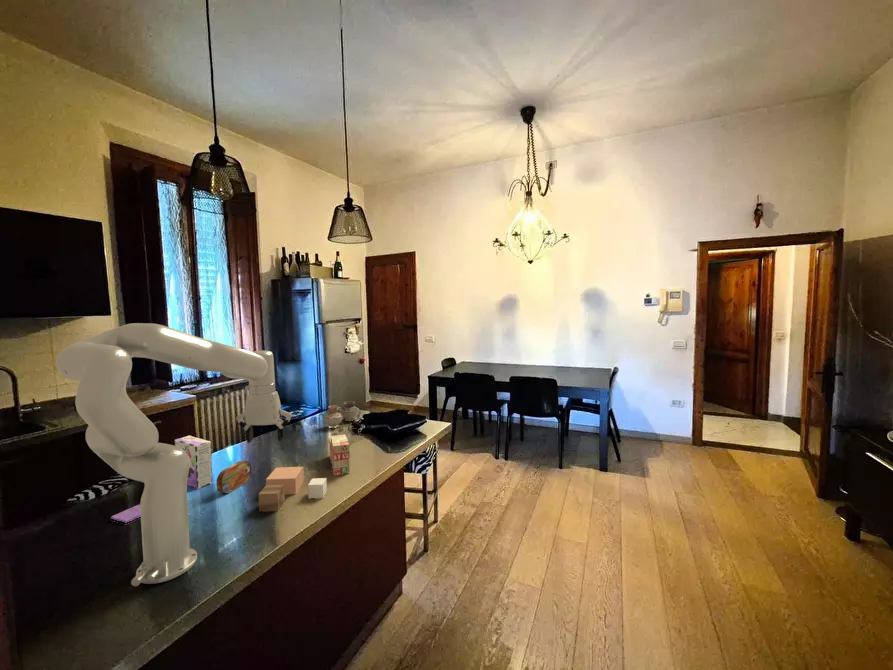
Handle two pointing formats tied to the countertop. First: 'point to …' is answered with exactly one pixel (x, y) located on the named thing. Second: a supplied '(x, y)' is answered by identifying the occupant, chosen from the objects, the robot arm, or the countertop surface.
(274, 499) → the walnut cube
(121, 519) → the sponges
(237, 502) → the countertop surface
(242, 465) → the tin
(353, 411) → the pottery
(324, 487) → the off-white cube
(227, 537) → the countertop surface
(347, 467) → the stack of blocks
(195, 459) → the candy box
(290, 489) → the terracotta block
